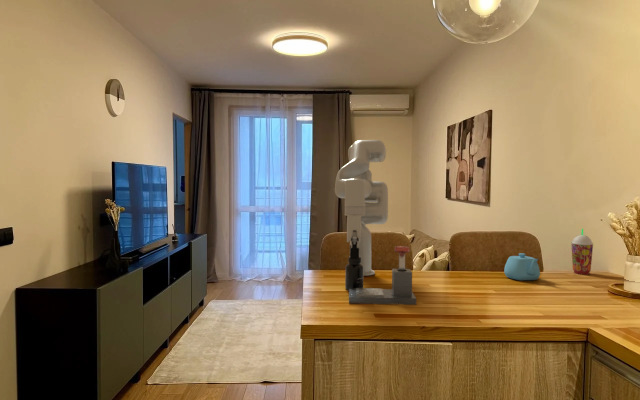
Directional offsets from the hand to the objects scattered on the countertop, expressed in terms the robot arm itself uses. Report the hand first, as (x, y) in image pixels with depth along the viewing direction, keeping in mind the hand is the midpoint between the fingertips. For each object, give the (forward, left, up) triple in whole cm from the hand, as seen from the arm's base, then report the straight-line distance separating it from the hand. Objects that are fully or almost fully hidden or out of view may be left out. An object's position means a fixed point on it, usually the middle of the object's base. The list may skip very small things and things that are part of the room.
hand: (354, 257), depth 159 cm
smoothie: (-38, +102, -12) cm, 110 cm away
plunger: (+13, +16, -6) cm, 22 cm away
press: (+13, +9, -12) cm, 20 cm away
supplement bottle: (-1, 0, -12) cm, 12 cm away
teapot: (-24, +71, -12) cm, 76 cm away
